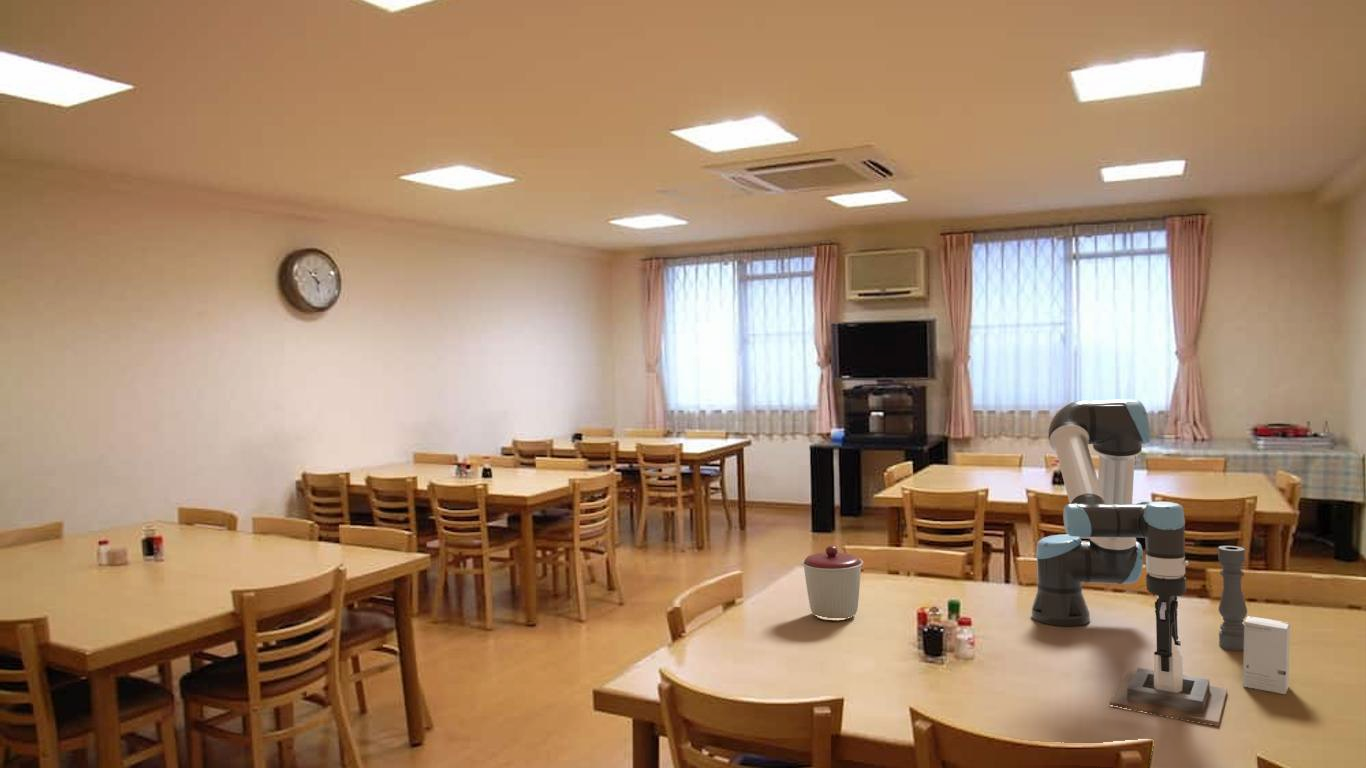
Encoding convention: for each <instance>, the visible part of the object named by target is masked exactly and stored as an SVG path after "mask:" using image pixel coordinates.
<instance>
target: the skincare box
mask: <svg viewBox="0 0 1366 768" xmlns="http://www.w3.org/2000/svg"><path fill="white" fill-rule="evenodd" d="M1243 625H1244V651H1243V657H1242V658H1243V662H1242V663H1243V666H1242V686H1243V687H1244V688H1247V687H1248V689H1253V688H1254V689H1253V690H1259V691H1264V692H1265V691H1266V692H1271V693H1275V694H1280V695H1286V693H1287V691H1288V689H1289V686H1290V685H1289V683H1290V681H1289V680H1290V679H1289V678H1290V677H1289V676H1290V675H1289V674H1290V673H1289V672H1290V640H1291V639H1290V636H1291V635H1290V633H1291V632H1290V631H1291V624H1290V622H1285V621H1281V620H1274V619H1270V618H1263V617H1257V616H1256V617H1255V616H1249V615H1248V616H1247V615H1246V617H1245V619H1244V621H1243Z"/></svg>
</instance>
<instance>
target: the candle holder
mask: <svg viewBox="0 0 1366 768" xmlns="http://www.w3.org/2000/svg"><path fill="white" fill-rule="evenodd" d="M1217 551H1218V553H1217V554H1218V561H1219V564H1220V565H1221V568H1222V569H1221V570H1220V571H1219V574H1220V575H1221V576H1222V580H1223V581H1222V584H1223V585H1222V586H1223V587H1222V593H1221V597H1220V601H1219V604H1218V612H1219V614H1220V616H1221V617H1222V620H1223V622H1222V624H1220V626H1219V628H1220V630H1219V632H1218V636H1219V638H1218V641H1219V643H1218V644H1219V647H1220V648H1222V649H1225V650H1228V651H1235V650H1236V651H1237V652H1244V651H1243V650H1244V622H1245V619H1246V618H1247V615H1248V608H1247V605H1246V601H1245V597H1244V594H1243V591H1242V578H1243V577H1244V576H1245V572H1243V570H1242V568H1243V567H1244V565H1245V563H1246V552H1245V551H1246V550H1245V548H1244V547H1241V546H1235V545H1219V546H1218V548H1217Z"/></svg>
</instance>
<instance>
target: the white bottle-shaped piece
mask: <svg viewBox="0 0 1366 768" xmlns="http://www.w3.org/2000/svg"><path fill="white" fill-rule="evenodd" d="M1176 646H1177V645H1175V643H1174V639H1173V637H1172V656H1173V678H1174V686H1173V687H1171V686H1165V685H1159V669H1158V655H1154V654H1153V670H1154V688H1156V689H1157V690H1163V691H1169V692H1175V693H1179V692H1181V691H1182V685H1183V675H1184V668H1183V665H1184V663H1183V662H1184V660H1183V657H1182V656H1183V655H1182V653H1181V652H1180V649H1179V648H1178V646H1177V647H1176ZM1156 651H1157V649H1156V650H1155V652H1156Z"/></svg>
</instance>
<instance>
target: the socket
mask: <svg viewBox="0 0 1366 768" xmlns="http://www.w3.org/2000/svg"><path fill="white" fill-rule="evenodd" d="M1226 694H1227V695H1228V688H1224V687H1219V686H1213V685H1211V684H1210V679H1209V678H1203V677H1197V676H1189V675H1184V674H1183V685H1182V691H1181V692H1179V693H1175V692H1169V691H1163V690H1157V689H1156V688H1154V669H1147V668H1139V667H1137V669H1136V671H1135V673H1132V672H1127V671H1126V672H1125V674H1124V675H1123V678H1122V679H1121V681H1120V682H1119V685H1117V688H1116V690H1115V692H1114V693H1113V695H1112V697H1111V699H1110V701H1109V706H1110V705H1113V706H1118V707H1122V708H1127V709H1131V710H1136V711H1143V712H1147V713H1152V714H1156V715H1155V716H1157V715H1162V716H1161V717H1163V716H1168V717H1173V718H1172V719H1174V718H1178V719H1177V720H1179V719H1183V720H1182V721H1184V720H1189V721H1188V722H1190V721H1194V722H1193V723H1195V722H1200V723H1199V724H1201V723H1206V724H1212V725H1217V726H1220V723H1221V719H1222V715H1221V714H1223V711H1224V707H1225V703H1226V699H1227V695H1226ZM1225 698H1226V699H1225ZM1224 702H1225V703H1224ZM1223 706H1224V707H1223ZM1131 710H1130V711H1131ZM1222 710H1223V711H1222ZM1136 711H1135V712H1136ZM1147 713H1146V714H1147ZM1152 714H1151V715H1152ZM1168 717H1167V718H1168ZM1220 718H1221V719H1220ZM1219 722H1220V723H1219ZM1206 724H1205V725H1206ZM1217 726H1216V727H1217Z"/></svg>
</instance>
